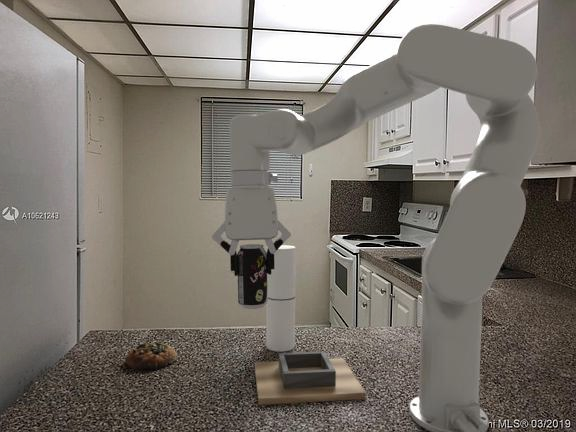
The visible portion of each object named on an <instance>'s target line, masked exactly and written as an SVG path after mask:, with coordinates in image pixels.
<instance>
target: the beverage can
mask: <svg viewBox="0 0 576 432" xmlns="http://www.w3.org/2000/svg"><path fill="white" fill-rule="evenodd" d="M237 255H238V275H237V300H238V301H237V303H238V305H239V306H241V307H242V308H244V309H245V310H246V309H247V310H257V309H261V308H264V306H266V304H267V302H268V294H267V250H265V248H264V244H257V243H256V244H255V243H252V244H251V243H249V244H241V245H240V246H239V251H237Z"/></svg>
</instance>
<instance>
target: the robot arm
mask: <svg viewBox="0 0 576 432" xmlns="http://www.w3.org/2000/svg"><path fill="white" fill-rule="evenodd" d="M538 69H539V68H538V63H537V60H536V58H535V56H534V55H533V54H532V52H531V51H530V50H529V49H527V48H526V47H525V46H523V45H521V44H519V43H517V42H514V41H511V40H507V39H504V38H499V37H496V36H491V35H486V34H481V33H479V32H475V31H470V30H466V29H461V28H458V27H453V26H449V25H444V24H437V23H436V24H433V23H432V24H431V23H430V24H429V23H428V24H422V25H419V26H415V27H413V28H412V29H410V30H409V31H407V32H406V33H405V34H404V35H403V37H401V40H400V41H399V43H398V46H397V50H396V52H395V53H394V54H391V55H390V56H388V57H386V58H383V59H381V60H379V61H377V62H375V63H373V64H371V65H369V66H367V67H365V68H363V69H361V70H359V71H357V72H355V73H351V74H350V75H349V76H348V77H347V78H346V79H344V81H343V83H342V84H341V85H340V87H339V89H338V91H337V92H336V93H335V95H334V96H333V97H331V99H329V100H328V101H326V103H324V104H322V105H321V106H319V107H317V108H316V109H313V110H311V111H309V112H306V113H305V114H302V115H299V114H297V113H296V112H294V111H292V110H291V109H286V108H282V109H274V110H270V111H267V112H264V113H263V112H262V113H259V114H250V113H249V114H238V115H235V116H233V117H232V118H231V120H230V122H229V153H230V154H229V156H230V157H229V159H230V188H227V189H226V195H225V202H224V203H225V204H224V205H225V207H224V221H223V223H222V224H221V225H219V227H218V228H217V230H216V231H215V232H213V234H212V236H211V239H212V240H213V241H215V242H216V243H217V244H218V245H219V246H220V247H221V248H222V249H223V250H224V251H225V252H227V253H228V255H229V256H230V259H229V261H230V272H234V277H238V255H237V254H238V251H237V249H238V248H237V247H238V245H239V242H240V241H258V240H259V241H260V240H261V241H262V240H264V241H265V244H266V253H267V274H269V275H270V274H271V269H274V253H275V252H276V251H277V250H278V249H279V248H280V246H281V245H284V243H285V242H287V240H288V239H290V237H291V236H292V233H291V232H290V231H289V230H288V229H287V228H286V227H285V225H284V224H282V223H281V222H280V221H279V218H278V208H277V207H278V206H277V200H276V194H275V189H274V187H271V184H272V183H274V182H278V181H279V180H278V174H274V173H272V172H271V168H270V167H271V166H270V165H271V164H270V161H271V160H270V159H271V158H270V154H271V153H270V151H274V152H275V151H276V152H279V153H284V154H287V155H292V156H301V155H305V154H308V153H311V152H312V151H316V150H317V149H320V148H322V147H324V146H327V145H329V144H331V143H332V142H336V141H337V140H339V139H341V138H343V137H344V136H347V135H348V134H350V133H351V132H353V131H354V130H357V129H359V128H360V127H362V126H363V125H365V124H366V123H368V122H370V121H372V120H374V119H376V118H379V117H381V116H383V115H385V114H387V113H390V112H392V111H394V110H396V109H398V108H401V107H403V106H405V105H408V104H411V103H412V102H414V101H417V100H419V99H421V98H424V97H425V96H427V95H430V94H432V93H433V92H435V91H437V90H439V89H440V88H442V89H445V90H448V91H453V92H456V93H459V94H462V95H465V99H466V102H467V104H468V106H469V107H470V108H471V110H472V111H473V112H474V113H475V114H476V116H477V117H478V121H479V124H480V131H479V135H478V139H477V141H476V144H475V145H474V149H473V151H472V153H471V156H470V158H469V160H468V162H467V164H466V167H465V169H464V170H463V172H462V173H463V174H462V175H461V177H460V179H459V181H458V182H457V184H456V186H455V187H454V189H453V191H452V193H451V196H450V201H449V208H448V211H447V213H446V215H445V217H444V220H443V222H442V224H441V226H440V229H439V231H438V233H437V235H436V236H435V238H433V239H432V240H431V241H430V242H429V243H428V244H427V246H426V248H425V249H424V251H423V254H422V258H421V309H420V310H421V312H420V314H421V316H420V338H419V339H420V342H419V343H420V344H419V346H420V348H419V351H420V352H419V384H418V396H416V397H414V398H412V399H411V401H409V411H408V412H409V415H410V417H411V418H412V420H413V421H414V422H415V423H416V424H417V425H419V426H420V427H421V428H423V429H425V430H427V431H428V432H487V431H488V429H489V421H490V420H489V416H488V414H487V413H486V412H485V411H484V410H483V408H481V405H480V404H479V402H480V401H479V400H480V372H481V346H482V340H481V339H482V331H483V330H482V328H483V327H482V324H483V298H482V297H483V296H484V295H485V294H487V292H488V291H489V289H490V288H491V286H492V285H493V283H494V281H495V280H496V277H497V275H498V274H499V271H500V270H501V267H502V266H503V264H504V262H505V260H506V257H507V255H508V254H509V252H510V249H511V247H512V245H513V243H514V241H515V238H517V235H518V233H519V230H520V229H521V226H522V224H523V221H524V217H525V214H526V209H527V208H526V207H527V206H526V205H527V201H526V197H525V196H526V195H525V192H524V190H523V188H522V186H521V185H522V183H523V181H524V178H525V177H526V175H527V172H528V170H529V167H530V164H531V162H532V160H533V158H534V155H535V154H536V150H537V148H538V144H539V141H540V135H541V133H540V132H541V123H540V122H541V121H540V117H539V113H538V110H537V108H536V105H535V103H534V101H533V99H532V97H531V96H530V95H529V93H530V91H532V88H533V87H534V86H535V83H536V82H537V78H538V71H539V70H538ZM224 232H225V236H226V238H227V239H229V240H230V241H231V242H230V243H229V242H228V241H226V240H225V239H224V237H222V235H223V234H224ZM279 233H281V235H280V236H279V237H278V235H279ZM277 237H278V238H277ZM274 238H277V239H276V240H275V241H273V239H274ZM267 247H268V249H267Z"/></svg>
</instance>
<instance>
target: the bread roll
mask: <svg viewBox="0 0 576 432" xmlns="http://www.w3.org/2000/svg"><path fill="white" fill-rule="evenodd" d="M125 357H126V358H125V364H126V365H127V366H128V367H129V368H130V369H131V370H134V371H142V372H148V371H153V370H155V369H156V370H159V369H161V368H162V369H163V368H164V367H167V366H168V365H169V364H173V363H175V362H176V360H177V358H178V353H177V352H176V350H175V349H174V348H173V347H172V346H170V345H168V344H167V343H160V342H155V343H154V342H153V343H150V342H147V343H146V342H145V343H140V344H139V345H138V346H136V348H132V350H131V351H129V352H128V353H127V355H126V356H125Z"/></svg>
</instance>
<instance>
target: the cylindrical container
mask: <svg viewBox="0 0 576 432" xmlns="http://www.w3.org/2000/svg"><path fill="white" fill-rule="evenodd" d="M267 249H268V247H267V246H266V250H267ZM267 294H268V302H267V304H265V307H266V312H265V313H266V315H265V316H266V319H265V321H266V322H265V324H266V330H265V331H266V333H265V341H266V342H265V344H266V345H265V346H266V349H268V350H270V351H272V352H273V351H274V352H280V353H283V352H288V351H292V350H293V349H294V348H295V347H296V345H295V343H296V341H295V340H296V334H295V333H296V246H294V245H289V244H288V245H286V244H282V245H281V246H280V248H279V249H278V250H277V251H276V252H275V253H274V269H271V274H270V275H269V274H267Z"/></svg>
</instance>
